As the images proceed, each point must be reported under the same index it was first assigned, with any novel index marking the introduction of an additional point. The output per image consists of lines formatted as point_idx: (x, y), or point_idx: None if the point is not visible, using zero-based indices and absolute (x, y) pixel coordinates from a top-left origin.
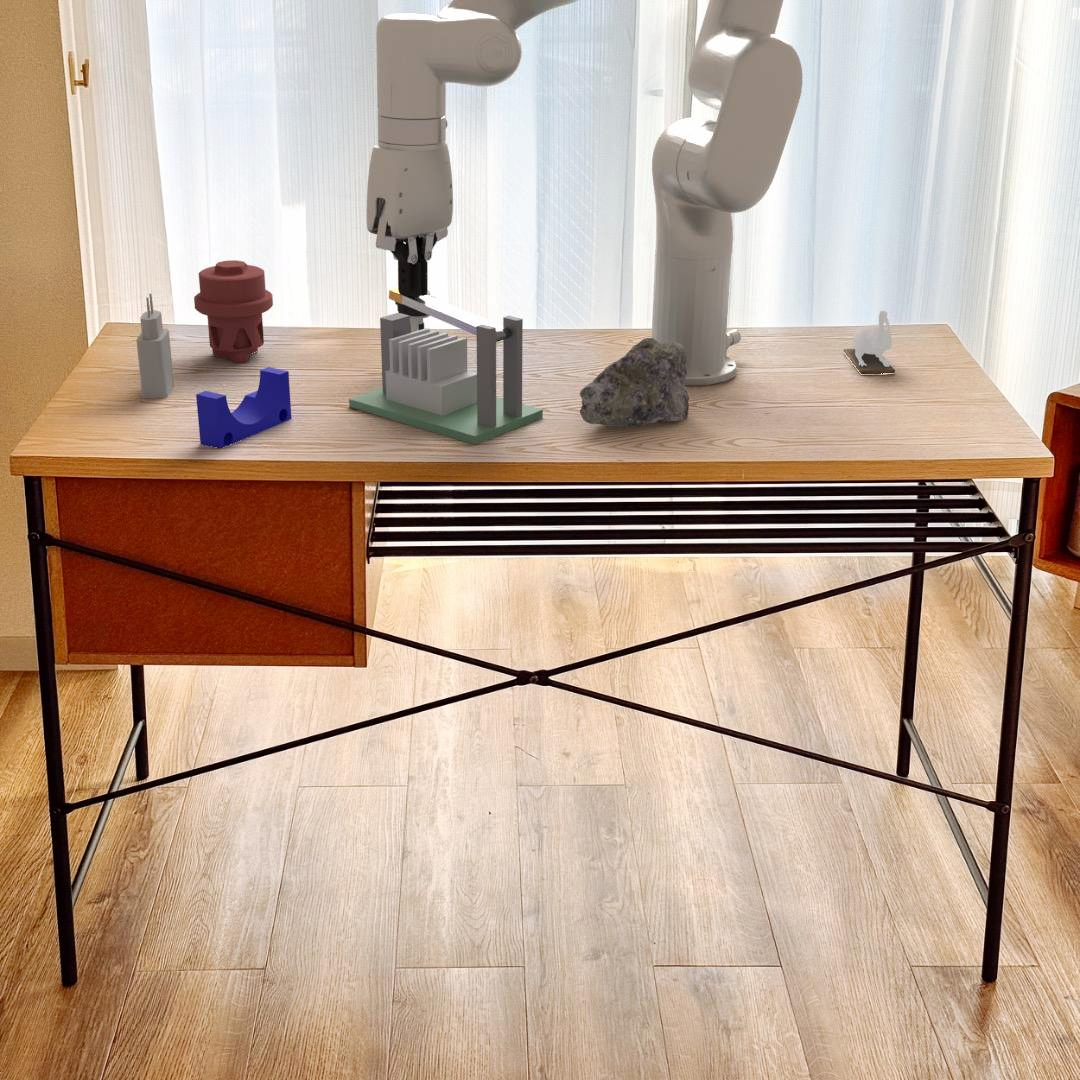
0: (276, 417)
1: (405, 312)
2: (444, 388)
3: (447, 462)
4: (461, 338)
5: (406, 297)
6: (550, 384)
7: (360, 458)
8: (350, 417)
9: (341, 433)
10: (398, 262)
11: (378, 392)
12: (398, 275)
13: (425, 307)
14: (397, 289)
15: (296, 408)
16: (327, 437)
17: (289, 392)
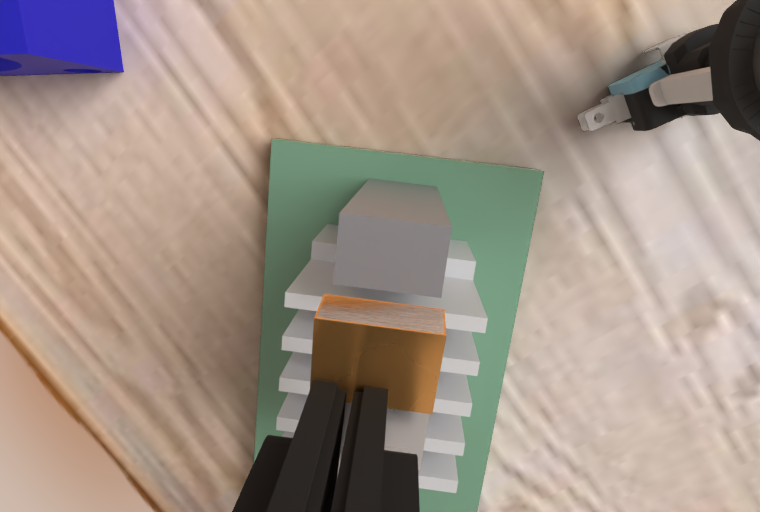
0: (56, 71)
1: (716, 56)
2: None
3: (153, 502)
4: (441, 482)
5: None
6: (695, 444)
7: (58, 364)
8: (223, 190)
9: (132, 243)
10: (274, 499)
11: (358, 172)
12: (295, 434)
13: None
14: (353, 344)
15: (186, 24)
16: (94, 233)
17: (75, 63)
